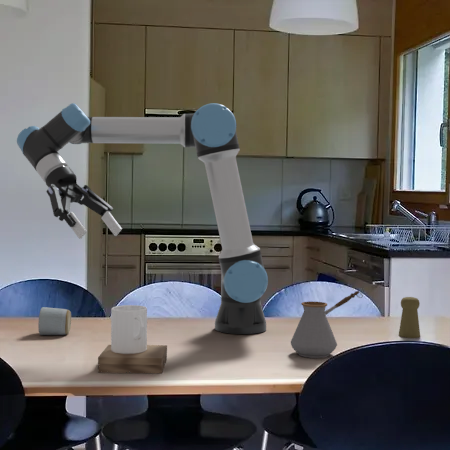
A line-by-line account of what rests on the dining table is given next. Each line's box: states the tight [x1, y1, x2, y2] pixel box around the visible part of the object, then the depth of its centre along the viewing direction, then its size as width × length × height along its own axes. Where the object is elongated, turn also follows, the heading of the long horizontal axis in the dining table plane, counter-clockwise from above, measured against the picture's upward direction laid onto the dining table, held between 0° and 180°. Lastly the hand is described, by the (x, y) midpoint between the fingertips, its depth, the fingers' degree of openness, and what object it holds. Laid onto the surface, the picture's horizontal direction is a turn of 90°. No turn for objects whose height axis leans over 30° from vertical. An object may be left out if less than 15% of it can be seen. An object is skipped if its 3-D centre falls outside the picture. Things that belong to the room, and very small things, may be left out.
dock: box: [97, 344, 168, 374], centre depth 160 cm, size 14×13×4 cm
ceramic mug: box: [38, 306, 72, 336], centre depth 196 cm, size 11×8×8 cm
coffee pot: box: [290, 290, 363, 359], centre depth 176 cm, size 21×12×15 cm, turn 123°
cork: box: [398, 296, 421, 339], centre depth 198 cm, size 6×6×11 cm
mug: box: [110, 304, 148, 354], centre depth 159 cm, size 8×12×10 cm, turn 30°
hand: (101, 233), depth 176 cm, fingers open, 13 cm apart
